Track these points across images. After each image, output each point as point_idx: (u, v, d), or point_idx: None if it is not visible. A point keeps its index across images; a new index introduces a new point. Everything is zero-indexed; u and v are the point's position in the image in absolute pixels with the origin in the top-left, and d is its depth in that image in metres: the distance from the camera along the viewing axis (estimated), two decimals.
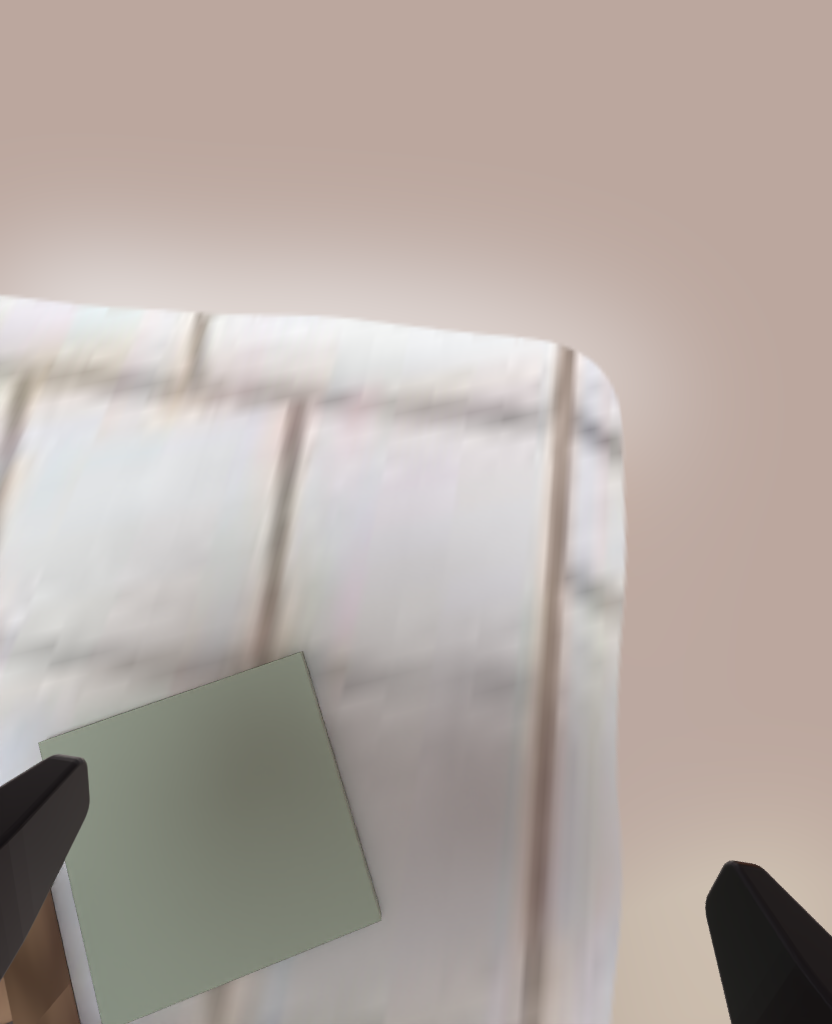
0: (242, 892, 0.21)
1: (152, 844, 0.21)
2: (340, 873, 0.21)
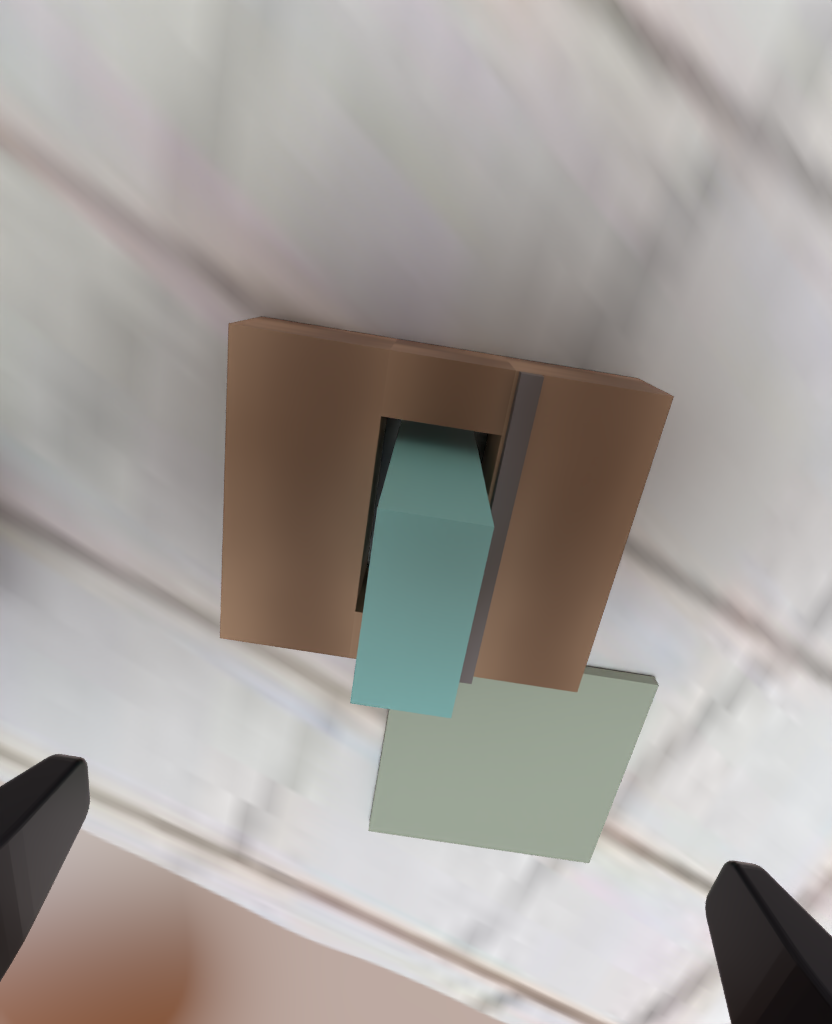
0: (442, 765, 0.24)
1: (519, 727, 0.23)
2: (415, 822, 0.25)
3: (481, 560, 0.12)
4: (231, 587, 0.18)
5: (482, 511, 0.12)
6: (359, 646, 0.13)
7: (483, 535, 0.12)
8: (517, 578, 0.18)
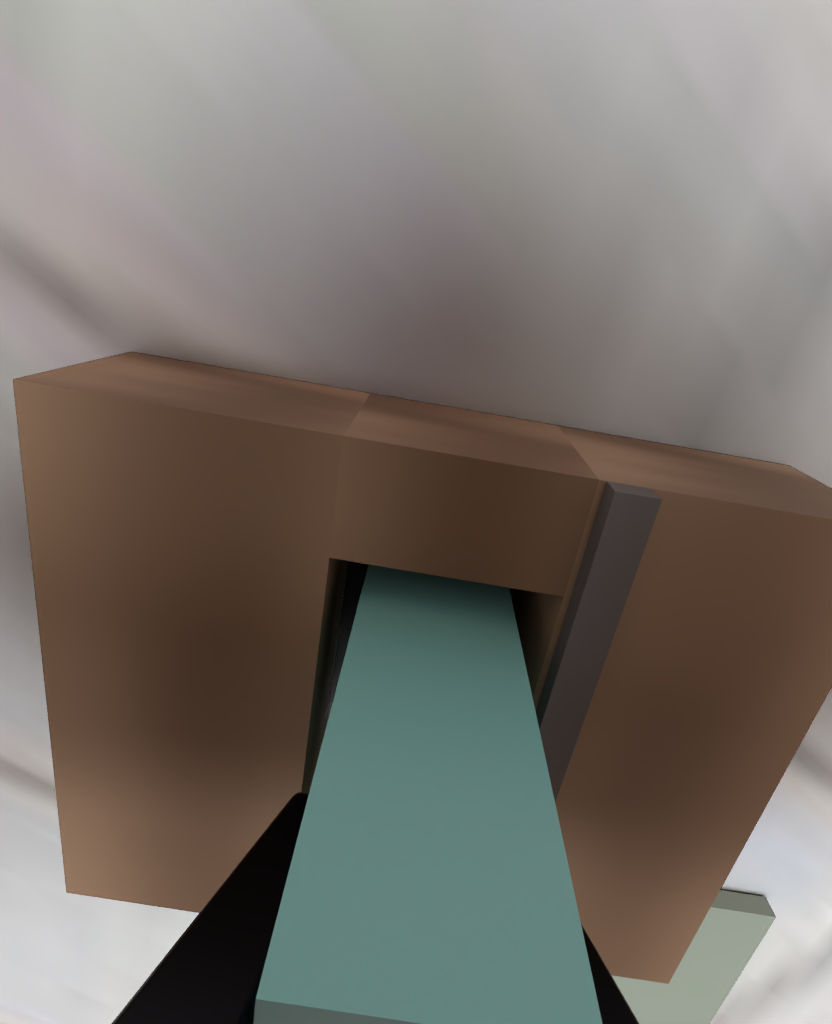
0: None
1: None
2: None
3: None
4: (76, 822, 0.10)
5: (559, 929, 0.05)
6: None
7: None
8: (578, 825, 0.10)
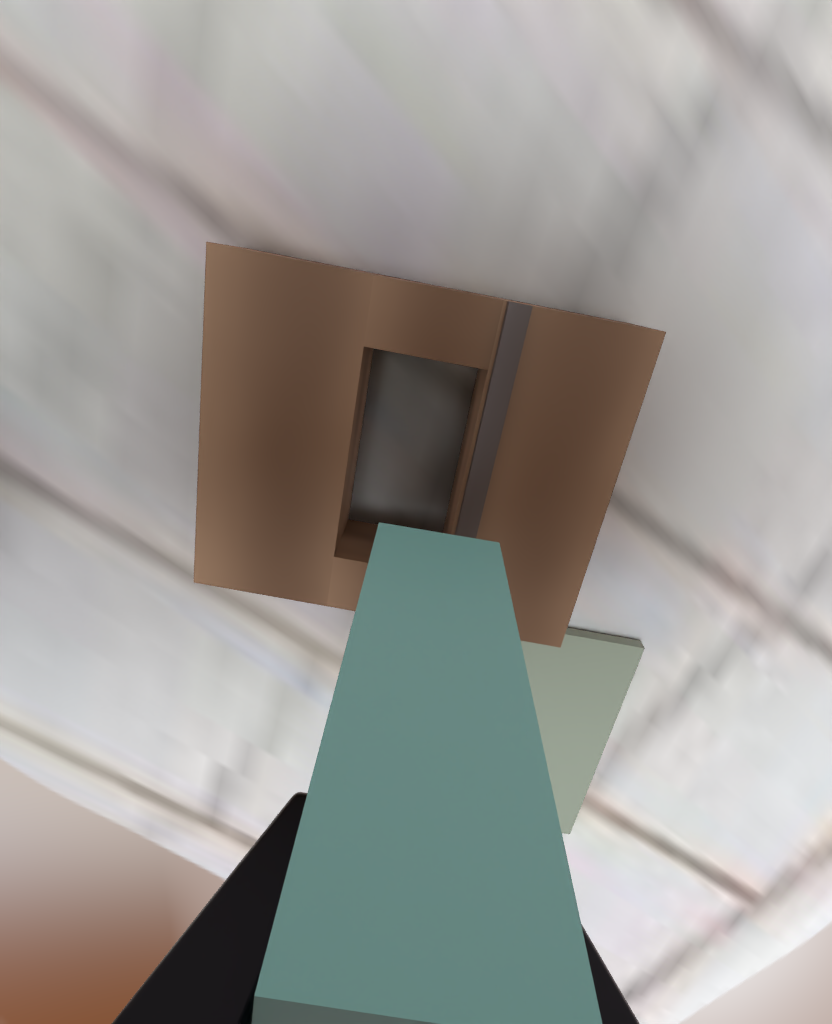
0: None
1: None
2: None
3: None
4: (206, 528, 0.18)
5: (559, 927, 0.05)
6: None
7: None
8: (501, 525, 0.17)
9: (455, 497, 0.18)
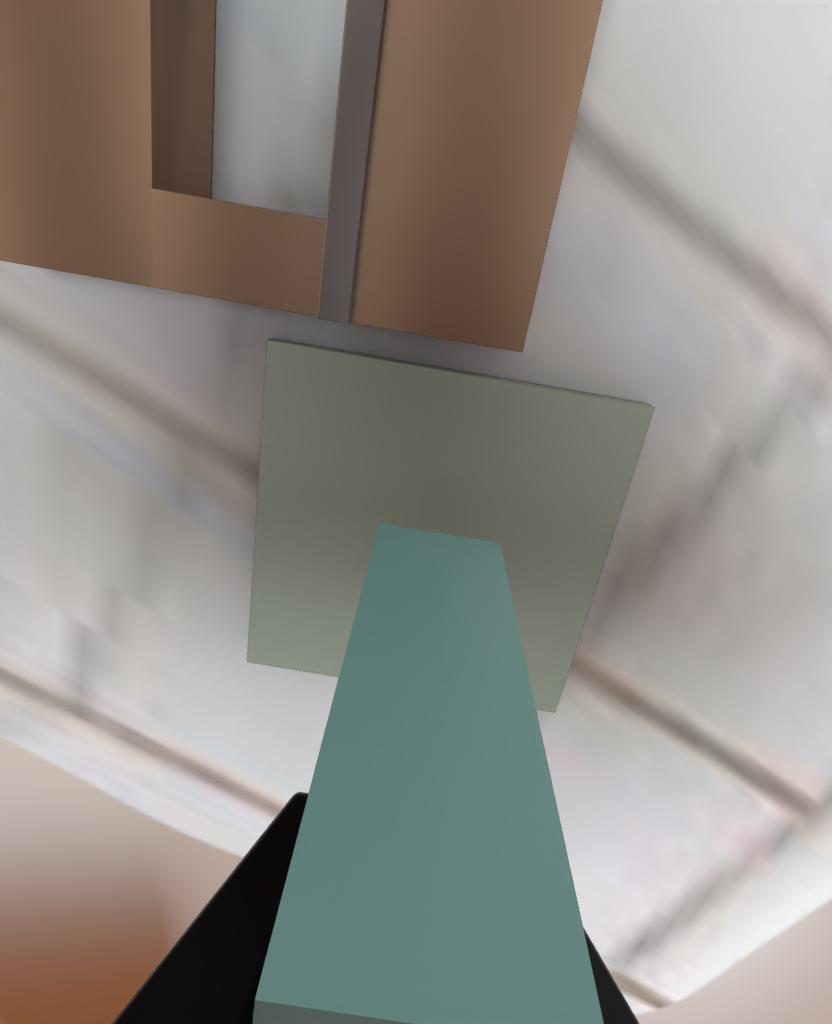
0: (343, 553, 0.17)
1: (449, 485, 0.16)
2: (311, 648, 0.18)
3: None
4: None
5: (560, 931, 0.05)
6: None
7: None
8: (414, 107, 0.10)
9: None
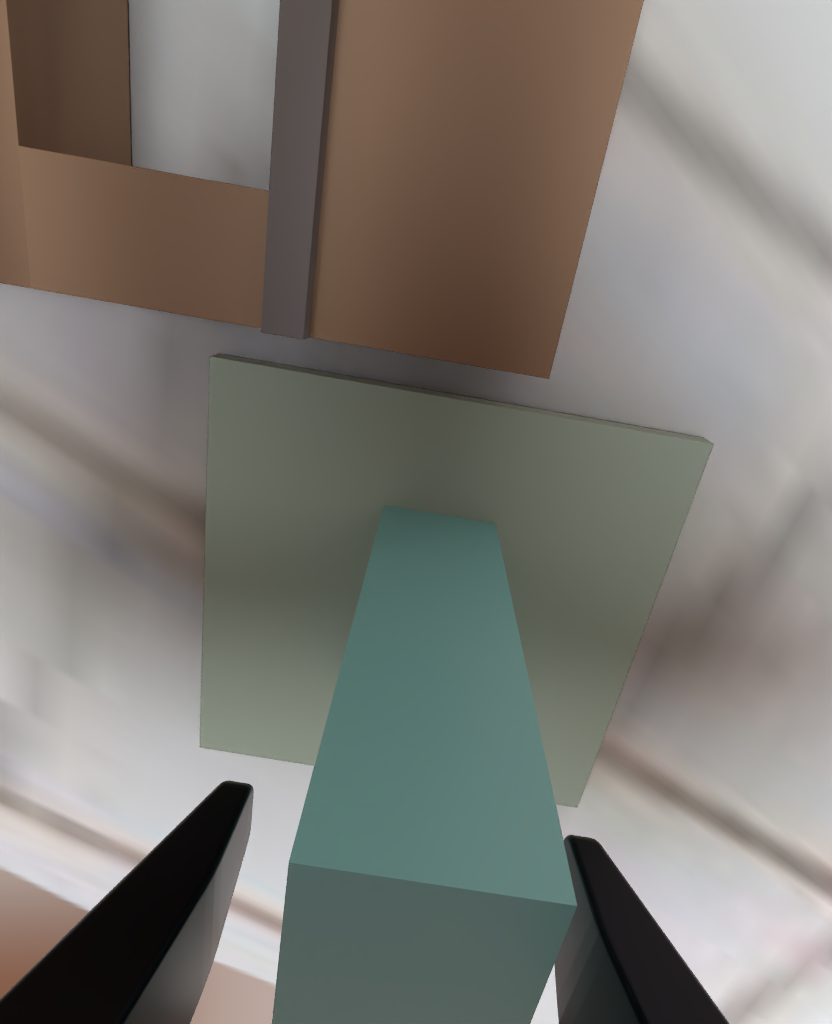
0: (314, 621, 0.13)
1: None
2: (278, 732, 0.15)
3: (541, 964, 0.05)
4: None
5: (539, 823, 0.05)
6: None
7: (549, 920, 0.05)
8: (395, 21, 0.07)
9: None
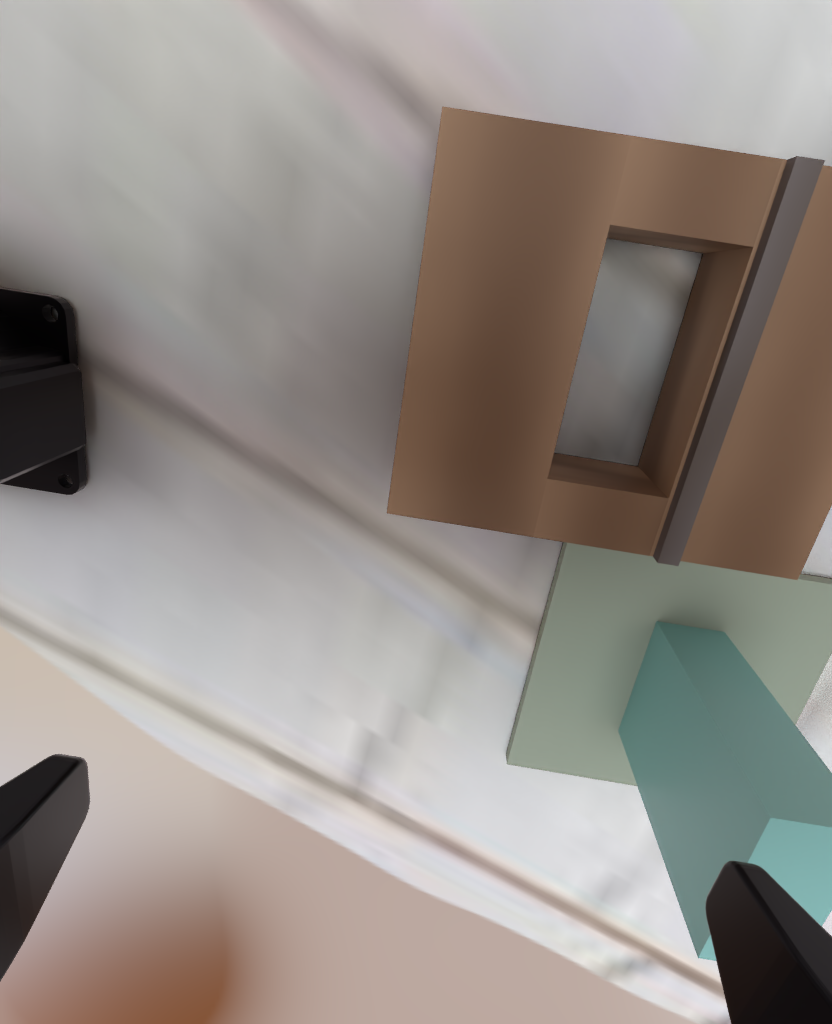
0: (600, 687, 0.21)
1: None
2: (561, 755, 0.23)
3: None
4: (407, 449, 0.16)
5: None
6: None
7: None
8: (746, 434, 0.15)
9: (680, 410, 0.16)
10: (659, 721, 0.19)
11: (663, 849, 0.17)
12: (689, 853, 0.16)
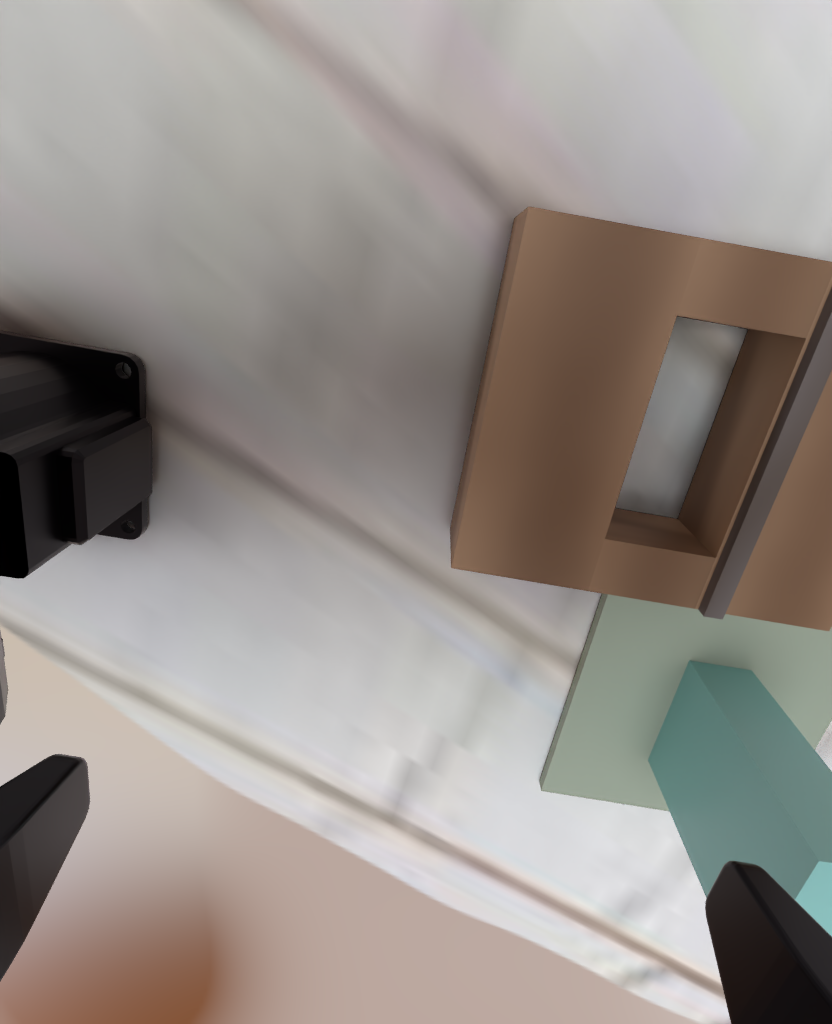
0: (633, 720, 0.23)
1: None
2: (593, 782, 0.24)
3: None
4: (474, 510, 0.17)
5: None
6: None
7: None
8: (790, 502, 0.16)
9: (726, 475, 0.17)
10: (694, 756, 0.20)
11: (702, 878, 0.19)
12: None
